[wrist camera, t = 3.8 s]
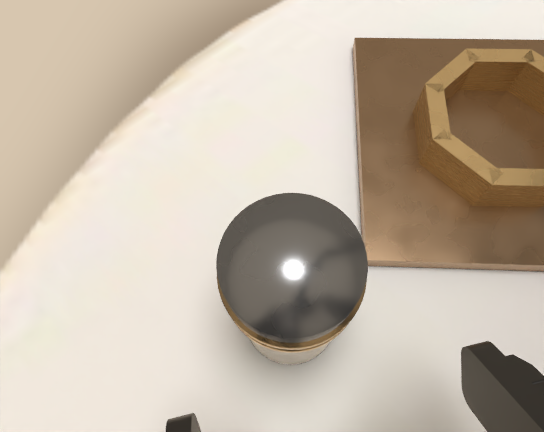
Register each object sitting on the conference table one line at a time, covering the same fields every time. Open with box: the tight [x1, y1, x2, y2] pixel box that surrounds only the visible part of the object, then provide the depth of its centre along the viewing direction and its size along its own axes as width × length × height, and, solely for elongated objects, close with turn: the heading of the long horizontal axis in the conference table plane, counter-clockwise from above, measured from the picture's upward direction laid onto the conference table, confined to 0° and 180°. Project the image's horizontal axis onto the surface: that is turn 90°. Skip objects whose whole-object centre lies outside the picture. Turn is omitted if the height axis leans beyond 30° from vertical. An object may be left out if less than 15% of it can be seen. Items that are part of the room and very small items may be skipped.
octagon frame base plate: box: [353, 38, 544, 271], centre depth 25 cm, size 16×16×4 cm
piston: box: [217, 193, 368, 365], centre depth 18 cm, size 5×5×10 cm
